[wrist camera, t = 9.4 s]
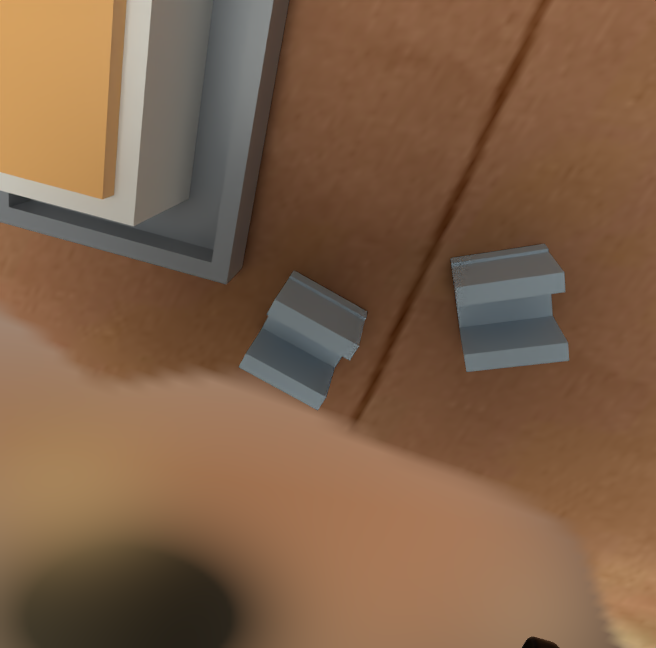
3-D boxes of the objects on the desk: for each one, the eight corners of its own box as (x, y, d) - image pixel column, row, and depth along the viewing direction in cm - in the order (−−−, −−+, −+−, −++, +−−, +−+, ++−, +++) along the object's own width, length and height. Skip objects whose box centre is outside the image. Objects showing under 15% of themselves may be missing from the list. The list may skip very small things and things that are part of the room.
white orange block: (218, -45, 16) (146, -90, 12) (188, 198, 19) (122, 231, 15) (84, -78, 16) (-35, -134, 12) (75, 168, 19) (-23, 192, 15)
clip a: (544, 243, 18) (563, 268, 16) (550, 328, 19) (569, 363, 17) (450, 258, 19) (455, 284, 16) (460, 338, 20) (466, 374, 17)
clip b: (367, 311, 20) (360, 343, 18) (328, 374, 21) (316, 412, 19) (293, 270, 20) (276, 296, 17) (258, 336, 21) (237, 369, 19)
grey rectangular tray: (308, -109, 15) (295, -131, 14) (241, 268, 20) (226, 284, 18) (27, -177, 16) (-19, -208, 14) (26, 209, 20) (-8, 219, 19)
